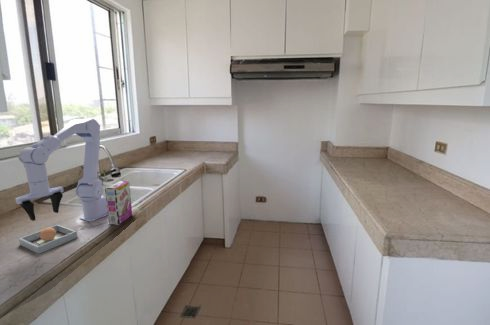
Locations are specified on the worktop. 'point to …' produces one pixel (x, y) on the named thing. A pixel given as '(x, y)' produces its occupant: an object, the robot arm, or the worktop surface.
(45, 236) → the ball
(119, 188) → the candy bar box
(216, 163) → the worktop surface
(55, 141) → the robot arm
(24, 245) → the grey shallow square tray
